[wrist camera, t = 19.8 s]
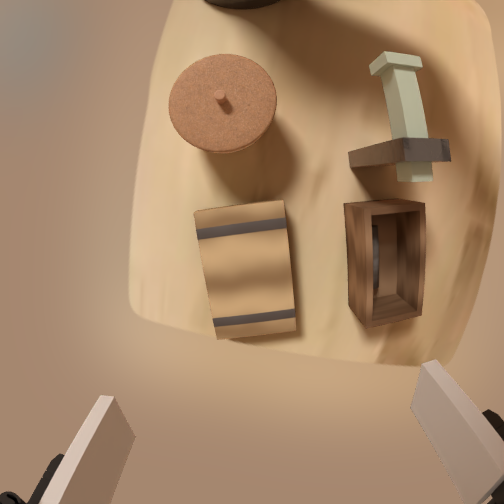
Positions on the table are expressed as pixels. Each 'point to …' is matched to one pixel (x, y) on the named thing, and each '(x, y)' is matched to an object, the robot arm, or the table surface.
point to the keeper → (401, 152)
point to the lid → (247, 268)
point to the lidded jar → (222, 103)
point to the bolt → (404, 107)
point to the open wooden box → (385, 259)
